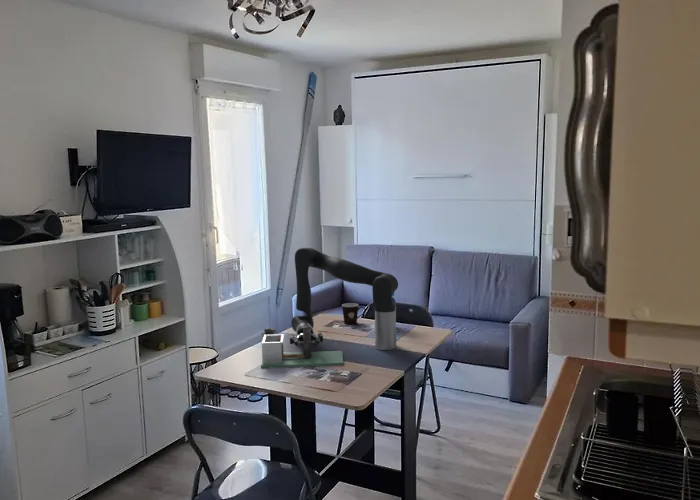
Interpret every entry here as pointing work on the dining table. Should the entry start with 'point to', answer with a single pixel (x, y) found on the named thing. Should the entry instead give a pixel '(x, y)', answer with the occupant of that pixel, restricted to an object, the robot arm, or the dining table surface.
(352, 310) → the coffee mug
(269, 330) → the lighter
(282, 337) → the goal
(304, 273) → the robot arm
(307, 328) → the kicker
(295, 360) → the board
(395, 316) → the beverage bottle
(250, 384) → the dining table surface
